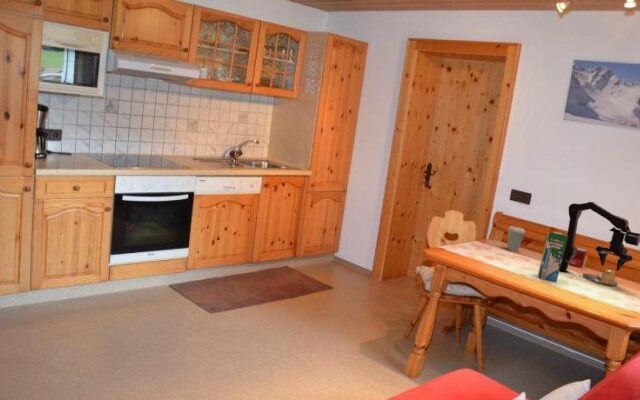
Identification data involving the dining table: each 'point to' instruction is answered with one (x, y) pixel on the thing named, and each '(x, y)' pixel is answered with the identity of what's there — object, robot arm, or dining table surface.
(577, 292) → the dining table surface
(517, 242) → the disposable coffee cup
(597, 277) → the carrier
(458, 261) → the dining table surface
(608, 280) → the tan rounded lump
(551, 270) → the milk carton
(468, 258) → the dining table surface
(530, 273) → the dining table surface
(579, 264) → the canned food
